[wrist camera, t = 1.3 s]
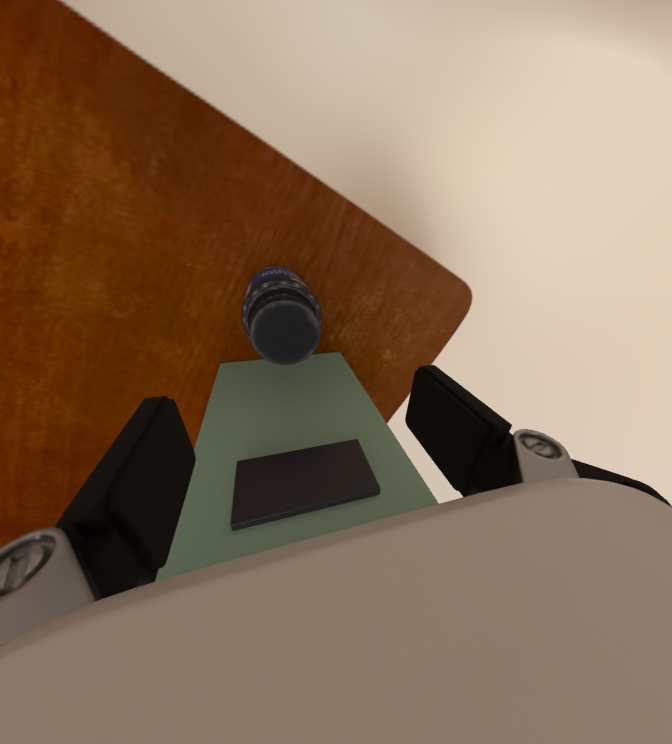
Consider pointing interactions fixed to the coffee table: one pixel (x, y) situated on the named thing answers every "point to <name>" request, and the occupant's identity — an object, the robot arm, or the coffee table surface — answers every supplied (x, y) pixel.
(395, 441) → the slim lidded bin
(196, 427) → the coffee table surface
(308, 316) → the pill bottle
